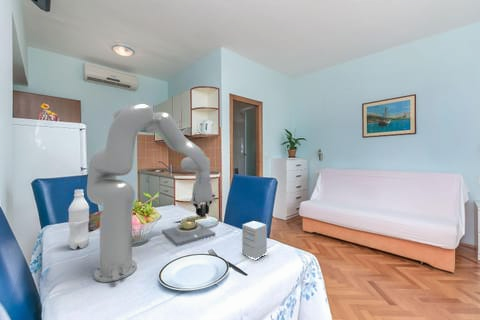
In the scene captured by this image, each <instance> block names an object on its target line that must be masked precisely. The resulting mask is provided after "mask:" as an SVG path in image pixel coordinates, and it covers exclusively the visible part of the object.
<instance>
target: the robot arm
mask: <svg viewBox="0 0 480 320" xmlns="http://www.w3.org/2000/svg"><path fill="white" fill-rule="evenodd" d="M140 132H141V133H145V134H157V133H158V135H159V136H160V137H161V138H162V140H163V141H164V142H165V144H166V145H167V147H168V148H169V149H170V150H172V151H173V152H176V153H179V154H182V155H184V156H186V157H184V158H183V159H182V160H181V162H180V167H181V168H182V170H183V171H185V172H191V173H194V172H195V182H194V183H193V186H192V194H191V195H192V196H191V200H190V201H189V204H191V205H193V206H194V207H195V214H196V216H200V205H201V203H204V204H206V215H209V212H210V207H211V204H212V203H213V202H214V201H215V198H214V196H213V187H212V182H211V181H212V179H213V178H212V177H211V159H210V158H209V157H207V156H206V154H205V152H204V151H203V149H202V148H201V147H199V146H198V145H197V144H195V143H194V142H192V141H191V140H189V139H188V138H187V137H186V136H185V135H184V133H183V132H182V130H181V129H180V127H179V126H178V124H177V123H176V121H175V120H174V118H173V116H172V115H171V114H169V113H168V112H165V111H159V112H155V111H154V110H153V108H152V106H150V105H148V104H145V103H137V104H131V105H128V106H123V107H120V108H118V109H117V110H115V112H114V113H113V121H112V123H111V124H110V127H109V128H108V133H107V139H106V145H105V148H102V149H99V150H97V151H96V152H95V153H93V155H92V156H91V158H90V161H89V165H88V171H87V180H86V181H87V182H86V183H87V184H86V196H87V198H88V200H89V201H90V202H91V203H93V204H95V205H98V206H102V210H101V211H102V213H101V217H100V228H99V267H98V268H97V269H95V271H94V274H93V278H94V280H95V281H98V282H101V283H102V282H103V283H107V282H108V283H109V282H110V283H111V282H115V281H118V280H122V279H125V278H126V277H128V276H130V275H132V274H133V273H134V272H135V271H137V267H138V264H137V261H135V260H134V259H133V211H134V210H133V209H134V203H135V199H136V191H135V188H134V187H133V185H132V184H131V183H130V182H128V181H125V180H124V179H117V177H119V176H120V177H121V176H127V175H128V174H130V173H131V171H132V170H133V167H134V158H135V144H136V139H137V136H138V134H139V133H140Z"/></svg>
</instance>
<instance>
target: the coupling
mask: <svg viewBox="0 0 480 320" xmlns="http://www.w3.org/2000/svg"><path fill="white" fill-rule="evenodd" d="M199 208H200V216H198V215H196V216H190V217H186V218H185V219H182V220H181V224H178V226H179V228H182V230H185V231H189V230H194V229H195V225H198V223H199V222H197V221H199V220H205V219H207V214H206V204H205V203H200V207H199Z"/></svg>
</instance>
